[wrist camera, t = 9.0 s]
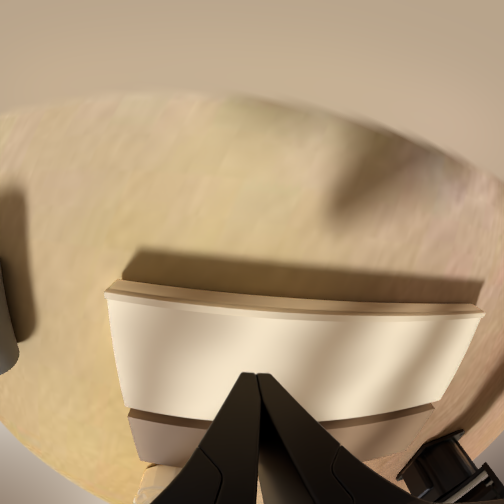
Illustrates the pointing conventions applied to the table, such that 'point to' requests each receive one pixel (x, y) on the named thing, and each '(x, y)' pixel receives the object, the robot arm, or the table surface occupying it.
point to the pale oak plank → (282, 349)
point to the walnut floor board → (344, 430)
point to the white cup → (154, 482)
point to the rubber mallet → (6, 334)
